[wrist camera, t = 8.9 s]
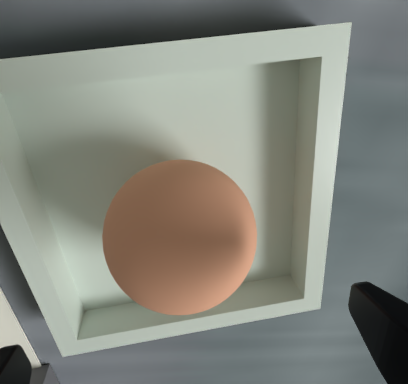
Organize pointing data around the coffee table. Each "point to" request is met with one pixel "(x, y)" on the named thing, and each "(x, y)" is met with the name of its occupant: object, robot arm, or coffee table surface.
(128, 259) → the ball
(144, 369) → the coffee table surface
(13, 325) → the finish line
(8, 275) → the coffee table surface
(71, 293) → the tray
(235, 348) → the coffee table surface
